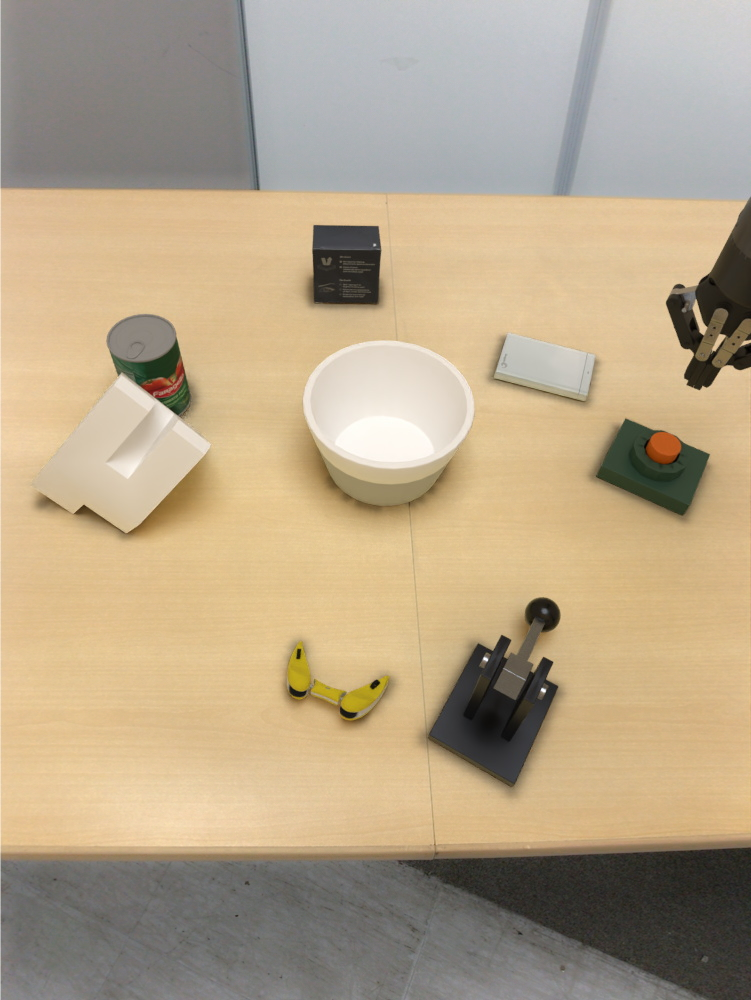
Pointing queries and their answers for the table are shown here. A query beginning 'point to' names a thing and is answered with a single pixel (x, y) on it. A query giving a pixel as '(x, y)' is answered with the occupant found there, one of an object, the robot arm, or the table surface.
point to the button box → (653, 469)
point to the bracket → (494, 714)
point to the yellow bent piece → (351, 703)
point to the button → (663, 448)
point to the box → (346, 263)
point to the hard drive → (545, 366)
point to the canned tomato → (151, 358)
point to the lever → (527, 645)
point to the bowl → (387, 418)
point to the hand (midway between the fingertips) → (695, 382)
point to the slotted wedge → (122, 457)
